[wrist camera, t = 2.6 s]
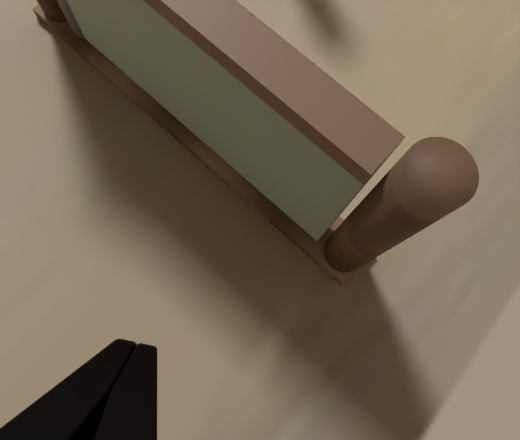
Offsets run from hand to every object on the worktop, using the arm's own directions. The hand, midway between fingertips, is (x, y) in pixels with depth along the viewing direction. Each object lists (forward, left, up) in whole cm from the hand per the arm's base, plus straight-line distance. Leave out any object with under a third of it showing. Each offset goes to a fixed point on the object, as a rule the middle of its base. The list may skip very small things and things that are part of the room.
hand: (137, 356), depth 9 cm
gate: (+8, -8, -11) cm, 16 cm away
